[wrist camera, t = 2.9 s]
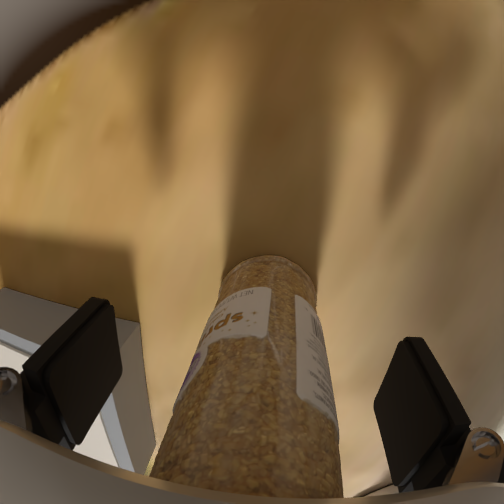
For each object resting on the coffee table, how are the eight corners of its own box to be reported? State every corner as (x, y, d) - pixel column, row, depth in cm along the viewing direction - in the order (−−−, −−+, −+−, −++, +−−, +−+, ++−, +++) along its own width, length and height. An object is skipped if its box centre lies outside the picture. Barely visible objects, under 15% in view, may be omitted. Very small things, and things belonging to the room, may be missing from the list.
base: (139, 323, 16) (104, 370, 12) (156, 444, 19) (138, 487, 15) (4, 287, 16) (-36, 313, 13) (40, 402, 20) (15, 433, 16)
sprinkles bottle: (223, 246, 14) (45, 575, 1) (325, 259, 14) (414, 616, 1) (217, 333, 16) (123, 606, 3) (307, 344, 15) (318, 631, 3)
